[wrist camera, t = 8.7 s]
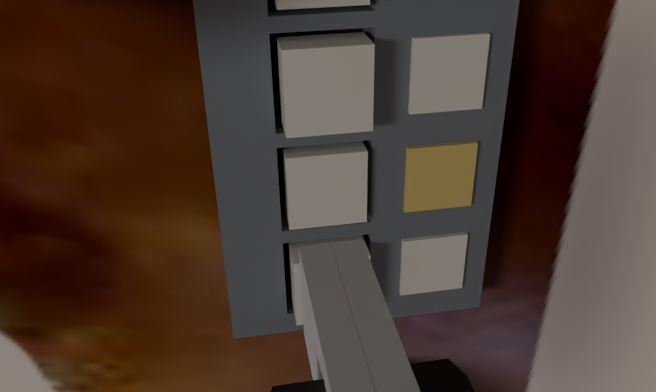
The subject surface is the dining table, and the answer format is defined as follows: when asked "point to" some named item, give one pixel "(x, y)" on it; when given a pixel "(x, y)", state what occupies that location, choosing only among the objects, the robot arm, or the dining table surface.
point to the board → (382, 145)
